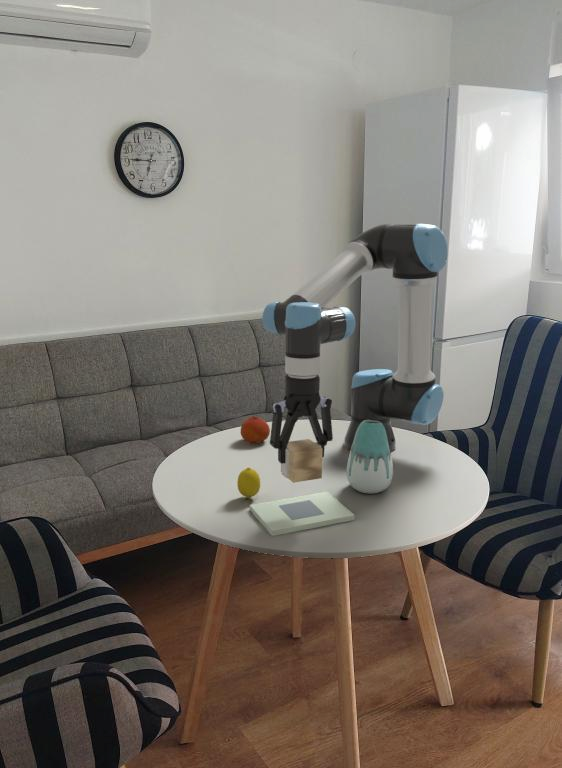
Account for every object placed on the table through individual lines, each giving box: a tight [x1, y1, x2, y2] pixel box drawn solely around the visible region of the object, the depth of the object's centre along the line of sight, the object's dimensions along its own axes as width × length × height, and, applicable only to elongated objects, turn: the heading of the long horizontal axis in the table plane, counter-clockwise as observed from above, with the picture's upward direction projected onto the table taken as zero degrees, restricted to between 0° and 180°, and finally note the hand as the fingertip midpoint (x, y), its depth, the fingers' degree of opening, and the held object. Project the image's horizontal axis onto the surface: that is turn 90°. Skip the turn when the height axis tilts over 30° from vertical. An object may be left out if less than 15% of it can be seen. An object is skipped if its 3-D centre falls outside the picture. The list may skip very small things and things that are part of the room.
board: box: [249, 491, 355, 537], centre depth 148 cm, size 20×14×1 cm
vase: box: [346, 420, 394, 494], centre depth 160 cm, size 12×12×18 cm
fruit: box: [240, 415, 271, 444], centre depth 196 cm, size 9×9×8 cm
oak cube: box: [280, 438, 323, 484], centre depth 145 cm, size 7×7×7 cm
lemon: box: [236, 467, 261, 499], centre depth 156 cm, size 6×6×8 cm
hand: (301, 473), depth 145 cm, fingers closed on oak cube, 7 cm apart
